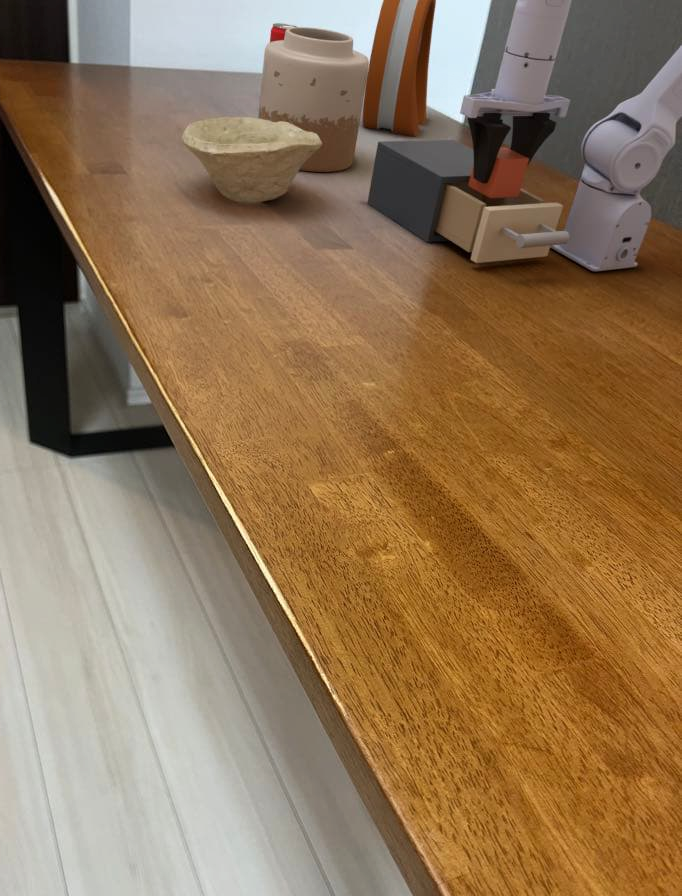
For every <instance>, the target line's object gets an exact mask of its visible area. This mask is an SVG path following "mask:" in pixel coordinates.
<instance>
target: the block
mask: <svg viewBox="0 0 682 896" xmlns="http://www.w3.org/2000/svg"><path fill="white" fill-rule="evenodd" d="M528 161H529V158H527V157H525V156H523V155H521V154H519V153H516V152H514V151H512V150H510V148H508V147H506V146H505V147H503V146H501V147H500V150H499V152H498V155H497V157H496V161H495V164H494V168H493V171H492V173H491V176H490V178H489V180H488V182H487V183H481V182H479V181H477V180H476V179H474V178H473V174H474V164H473V168H472V172H471V176H470V180H469V184H468V186H469V187H471V188H472V189H474V190H476V191H478V192H480V193H482V194H483V195H485V196H487V197H489V198H505V197H518V196H519V193H520V190H521V188H522V185H523V182H524V178H525V176H526V171H527V169H528V166H529V165H528ZM527 165H528V166H527Z"/></svg>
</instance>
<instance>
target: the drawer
mask: <svg viewBox="0 0 682 896" xmlns="http://www.w3.org/2000/svg"><path fill="white" fill-rule="evenodd" d="M468 184H469V182H461V183H445V188H444V192H443V197H442V201H441V205H440V210H439V214H438V218H437V223H436V227H435V231H436V232H437V233H439V234H441V235H442V236H444V237H445V238H447V239H449V240H450V241H449V242H452V243H453V244H455V245H456V246H458V247H460V248H461V249H463V250H464V251H466V252H468V253H471V254H470V261H471V262H474V263H475V264H482V263H492V262H502V261H512V260H514V261H515V260H522V259H523V260H524V259H532V258H533V259H534V258H544V257H548V255H549V252H550V249H551V248H550V246H551V245H561V244H566V243H567V242H568V241H569V233H568V232H567V231H564V230H558V231H557V226H558V224H559V220H560V217H561V215H562V211H563V207H564V205H563V204H561V203H559V202H556V201H555V202H545V200H546V199H543V198H541V197H539V196H537V195H535V194H533V193H531V192H529V191H527V190H525V189H523V188H522V187H521V190H520V193H519V196H518V197H505V198H489V197H487V196H485V195H483V194H482V193H480V192H478V191H476V190H474V189H472V188H471V187H469V186H468Z"/></svg>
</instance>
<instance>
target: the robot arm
mask: <svg viewBox="0 0 682 896" xmlns="http://www.w3.org/2000/svg"><path fill="white" fill-rule="evenodd" d="M571 5H572V0H516V3H515V7H514V10H513V15H512V19H511V23H510V27H509V31H508V35H507V39H506V43H505V47H504V52H503V55H502V60H501V63H500V68H499V71H498V76H497V80H496V83H495V88H491V91H489V92H483V93H475V94H464V95H463V98H462V101H461V107H460V111H459V113H460V115H463V116H465V117H466V118H467V123H468V126H469V130H470V134H471V142H472V149H473V152H474V174H473V178H474V179H476V180H477V181H479V182H481V183H487V182H488V180H489V178H490V176H491V173H492V171H493V168H494V164H495V161H496V157H497V155H498V152H499V150H500V148H502V145H503V143H504V141H505V140H506V137H507V136H508V134H509V132H510V131H511V129H512V132H511V133H512V134H511V142H510V148H509V149H510V150H512V151H514V152H516V153H519V154H521V155H523V156H525V157H527V158H529V161H528V165H527V167H529V165H530V163H531V161H532V159H533V158H534V156H535V154H536V153H537V152H538V150H539V149H540V147H541V146H542V145H543V144H544V142H545V141H546V140H547V139H548V138H549V137H550V136H551V135H552V134H553V133H554V132H555V130H556V126H557V122H556V121H555V120H552V119H550V117H557V118H566V116H567V113H568V109H569V106H570V103H571V99H568V98H566V97H564V96H561V95H549V94H546V93H547V90H548V86H549V83H550V79H551V76H552V72H553V69H554V65H555V62H556V58H557V54H558V51H559V48H560V44H561V41H562V37H563V33H564V30H565V26H566V23H567V19H568V16H569V12H570V8H571ZM502 117H512V127H511V126H510V125H508V124H506V123H504V122H503V121H504V119H502ZM681 118H682V44H681V45H680V46H679V47H678V48H677V50H676V51H675V52H674V53H673V55H672V56H671V57H670V58H669V60H668V61H666V63H665V64H664V65H663V66H662V67H661V69H660V70H659V71H658V72H657V74H656V75H655V76H654V77H653V78H652V79H651V81H650V82H648V84H647V86H646V87H645V88H644V89H643V90H642V92H640V93H639V94H637V95H635V96H633V97H630V98H628V99H626V100H624V101H622V102H620V103H619V104H618V105H617V106H616V107H615V108H614V110H612V111H611V112H610V114H608V115H607V116H605V117H604V118H602V119H600V120H598V121H597V122H595V123H594V124H592V126H590V128H589V129H588V130H587V132H585V135H584V136H583V139H582V142H581V146H580V156H581V160H582V162H583V164H584V166H583V169H582V172H581V177H580V180H579V183H578V186H577V189H576V192H575V195H574V199H573V201H572V204H571V208H570V210H569V214H568V216H567V219H566V223H565V226H564V229H563V231H567V232H568V233H569V241H568V242H567V243H566V244H561V245H551V246H550V249H552V250H554V251H555V252H557V253H559V254H561V255H563V257H564V256H565V257H566V258H568V259H570V260H572V262H573V261H574V262H575V263H577V264H579V265H580V266H582V267H584V268H586V269H588V270H589V271H591V272H603V271H612V270H622V269H631V268H636V267H638V262H636V258H637V256H638V253H639V251H640V248H641V245H642V244H643V240H644V238H645V235H646V232H647V231H648V228H649V225H650V223H651V219H652V207H651V204H649V202H648V201H646V200H645V199H643V198H642V196H641V191H642V189H643V188H646V186H648V185H649V184H650V183H651V182H652V181H653V180H654V179H655V177H656V176H657V174H658V172H659V171H660V168H661V166H662V163H663V161H664V159H665V157H666V156H667V154H668V153H669V151H671V150H672V148H673V147H674V146H675V144H676V133H677V132H676V130H677V122H678V121H679V120H680V119H681Z"/></svg>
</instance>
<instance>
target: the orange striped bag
mask: <svg viewBox="0 0 682 896" xmlns="http://www.w3.org/2000/svg"><path fill="white" fill-rule="evenodd" d="M436 4H437V0H382V3H381V7H380V12H379V15H378V19H377V23H376V26H375V32H374V37H373V43H372V47H371V52H370V56H369V66H368V74H367V80H366V86H365V92H364V99H363V105H362V127H364V128H367V129H373V130H379V129H380V128H383V129H386V130H387V129H388V130H390V131H391V132H392V133H394V134H400V135H404V136H411V137H417V136H418V135H419V133H420V126H419V125H424V124H425V122H426V121H427V103H428V102H427V99H428V80H429V79H428V78H429V65H430V53H431V46H432V45H431V44H432V36H433V28H434V27H433V26H434V20H435V11H436Z"/></svg>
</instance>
